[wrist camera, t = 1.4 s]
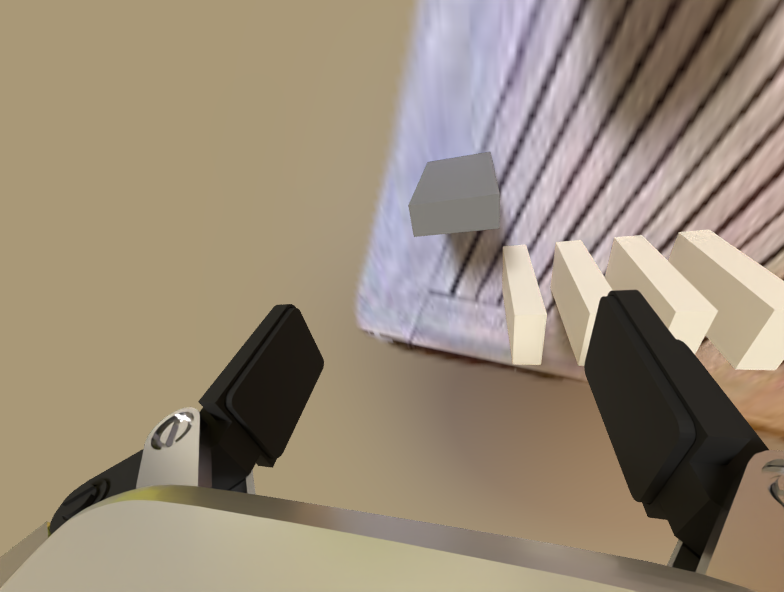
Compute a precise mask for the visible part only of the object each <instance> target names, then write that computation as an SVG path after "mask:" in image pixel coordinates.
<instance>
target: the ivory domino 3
mask: <svg viewBox="0 0 784 592" xmlns="http://www.w3.org/2000/svg"><path fill="white" fill-rule="evenodd" d="M605 279H606V281H607V282H608V284H609V285H610V287H611V289H612V290H613V291H614V290H638V291H639V292H640V293H641V294H642V295H643V296H644V298H645V299H646V300H647V302H648V303H649V304H650V306H651V307H652V308H653V310H654V311H655V312H656V314H657V315H658V316H659V318H660V319H661V320H662V322H663V323H664V324H665V326H666V327H667V328H668V329H669V331H670V332H671V333H672V335H673V336H674V337H675V339H679V340H681V341H683V342H684V343H685V344H686V345H687V346H688V347H689V348H690V349H691V351H692V352H693V353H694V354H695V353H696V352H697V350H698V348H699V346H700V344H701V342H702V340H703V338H704V337H705V335H706V333H707V331H708V329H709V327H710V325H711V323H712V322H713V320H714V318H715V316H716V314H717V312H718V310H717V309H716V308H715V307H714V306H713V305H712V304H711V303H710V302H709V301H708V300H707V299H706V298H705V297H704V296H703V295H702V294H701V293H700V292H699V291H698V290H697V289H696V288H695V287H694V286H693V285H692V284H691V283H690V282H689V281H688V280H687V279H686V278H685V277H683V276H682V275H681V274H680V273H679V272H678V271H677V270H676V269H675V268H674V267H673V266H672V265H671V264H670V263H669V262H668V261H667V260H666V259H665V258H664V257H663V256H662V255H661V254H660V253H659V252H658V251H657V250H656V249H655V248H654V247H653V246H652V245H651V244H650V243H649V242H648V241H647V240H646V239H645V238H644V237H643V236H642V235H639V236H626V237H614V240H613V245H612V249H611V253H610V257H609V261H608V266H607V270H606V274H605Z"/></svg>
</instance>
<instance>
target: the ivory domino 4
mask: <svg viewBox="0 0 784 592" xmlns="http://www.w3.org/2000/svg"><path fill="white" fill-rule="evenodd" d="M668 262H669V263H670V264H671V265H672V266H673V267H674V268H675V269H676V270H677V271H678V272H679V273H680V274H681V275H682V276H683V277H685V278H686V279H687V280H688V281H689V282H690V283H691V284H692V285H693V286H694V287H695V288H696V289H697V290H698V291H699V292H700V293H701V294H702V295H703V296H704V297H705V298H706V299H707V300H708V301H709V302H710V303H711V304H712V305H713V306H714V307H715V308H716V309H717V310H718V312H717V314H716V316H715V318H714V320H713V322H712V323H711V325H710V327H709V329H708V331H707V333H706V336H707V338H708V339H709V340H710V341H711V342H712V343H713V345H714V346H715V347H716V348H717V349H718V350H719V351H720V353H721V354H722V355H723V356H724V357H725V358H726V360H727V361H728V362H729V363H730V364H731V365H732V366H733V368H734V369H742V370H776V369H777V368H778V366H779V365H780V364H781V363H782V361H783V360H784V281H783V280H781V279H780V278H778V277H777V276H776V275H774V274H773V273H771V272H770V271H768V270H767V269H765V268H764V267H763V266H761V265H760V264H758V263H757V262H755V261H754V260H752V259H751V258H750V257H748V256H747V255H745V254H744V253H742V252H741V251H739V250H738V249H736V248H735V247H734V246H732V245H731V244H729V243H728V242H726V241H725V240H723V239H722V238H721V237H719V236H718V235H716V234H715V233H713V232H712V231H710V230H700V231H688V232H679V233H678V235H677V238H676V241H675V243H674V246H673V249H672V252H671V254H670V257H669V260H668Z"/></svg>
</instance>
